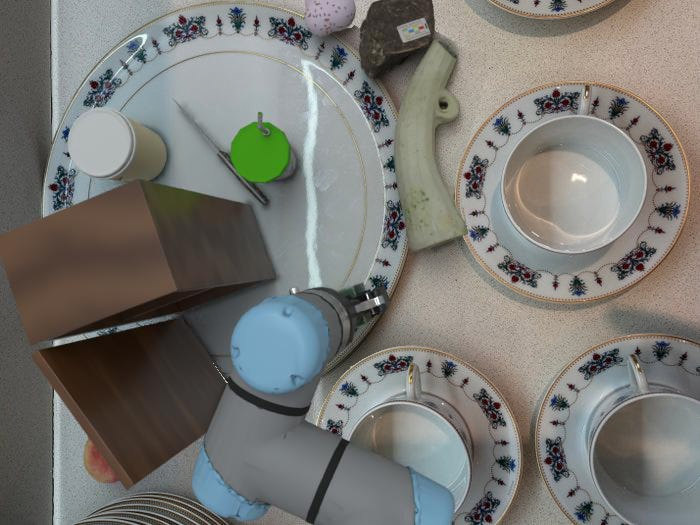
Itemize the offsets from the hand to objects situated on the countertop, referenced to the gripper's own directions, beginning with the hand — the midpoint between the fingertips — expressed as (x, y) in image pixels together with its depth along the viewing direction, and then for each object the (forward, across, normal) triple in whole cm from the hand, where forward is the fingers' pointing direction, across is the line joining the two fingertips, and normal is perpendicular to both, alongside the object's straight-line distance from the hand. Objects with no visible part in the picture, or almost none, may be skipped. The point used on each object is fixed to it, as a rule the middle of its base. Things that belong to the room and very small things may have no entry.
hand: (351, 306), depth 90 cm
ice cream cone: (+3, -18, -47) cm, 50 cm away
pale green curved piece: (-2, -12, -18) cm, 22 cm away
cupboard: (+3, +17, -13) cm, 22 cm away
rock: (-1, -14, -35) cm, 38 cm away
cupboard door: (+2, +25, +2) cm, 25 cm away
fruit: (+3, +39, +8) cm, 40 cm away
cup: (+3, +3, -22) cm, 23 cm away
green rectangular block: (+1, 0, 0) cm, 1 cm away
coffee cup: (+3, +22, -31) cm, 38 cm away
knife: (+3, +11, -27) cm, 29 cm away
